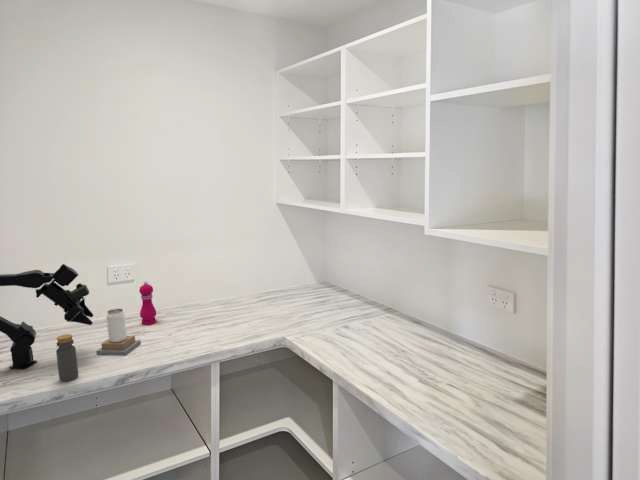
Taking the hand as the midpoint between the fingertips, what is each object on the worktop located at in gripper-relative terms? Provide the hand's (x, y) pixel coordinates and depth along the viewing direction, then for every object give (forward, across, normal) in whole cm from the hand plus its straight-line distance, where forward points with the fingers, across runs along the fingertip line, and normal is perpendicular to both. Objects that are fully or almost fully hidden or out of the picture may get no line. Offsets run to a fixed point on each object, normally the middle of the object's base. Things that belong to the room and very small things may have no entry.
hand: (92, 320), depth 180 cm
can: (+13, -1, 0) cm, 13 cm away
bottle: (+4, -21, +14) cm, 26 cm away
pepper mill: (+26, +28, -6) cm, 39 cm away
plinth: (+16, -1, +3) cm, 16 cm away
